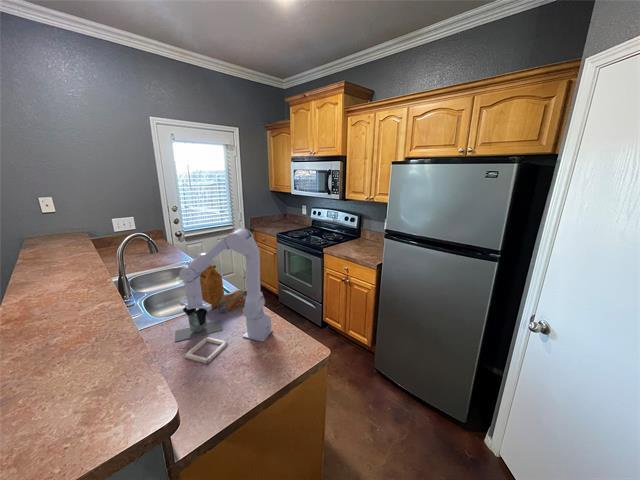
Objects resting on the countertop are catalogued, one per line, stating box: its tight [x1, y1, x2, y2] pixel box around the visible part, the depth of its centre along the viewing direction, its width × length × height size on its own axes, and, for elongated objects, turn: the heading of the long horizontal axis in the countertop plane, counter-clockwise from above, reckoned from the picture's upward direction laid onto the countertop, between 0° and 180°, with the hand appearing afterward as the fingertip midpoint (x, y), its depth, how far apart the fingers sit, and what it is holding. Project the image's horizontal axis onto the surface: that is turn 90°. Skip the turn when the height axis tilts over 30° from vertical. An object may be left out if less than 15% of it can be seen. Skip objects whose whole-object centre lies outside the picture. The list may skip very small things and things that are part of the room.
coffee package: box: [200, 264, 225, 310], centre depth 130 cm, size 10×12×22 cm
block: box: [187, 309, 208, 332], centre depth 109 cm, size 4×5×7 cm
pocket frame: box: [184, 336, 228, 364], centre depth 98 cm, size 10×11×1 cm
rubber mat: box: [174, 319, 224, 343], centre depth 110 cm, size 18×8×1 cm, turn 116°
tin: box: [216, 289, 247, 314], centre depth 126 cm, size 15×3×8 cm, turn 134°
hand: (198, 322), depth 109 cm, fingers closed on block, 4 cm apart
